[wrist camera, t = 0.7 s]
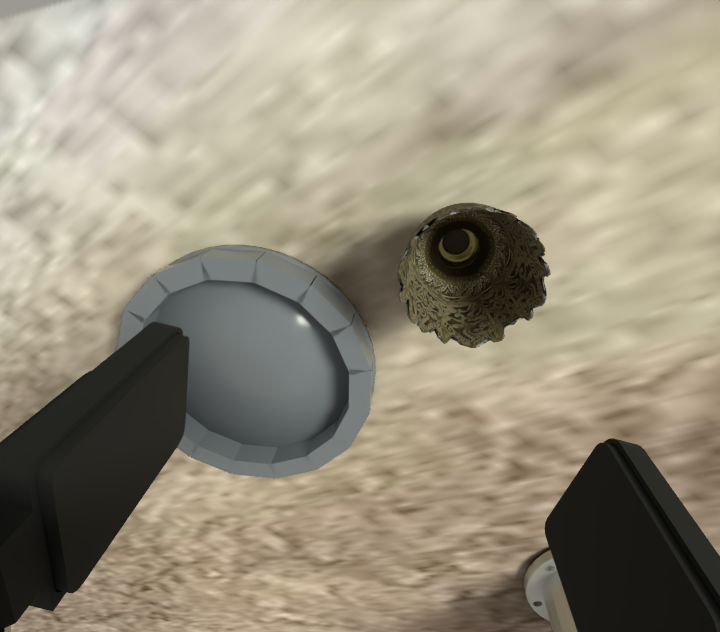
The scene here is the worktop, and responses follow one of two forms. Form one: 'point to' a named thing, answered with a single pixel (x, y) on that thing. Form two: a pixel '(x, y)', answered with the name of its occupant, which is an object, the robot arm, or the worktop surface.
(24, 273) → the worktop surface
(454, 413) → the worktop surface
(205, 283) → the round dish
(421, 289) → the cup
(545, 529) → the robot arm
